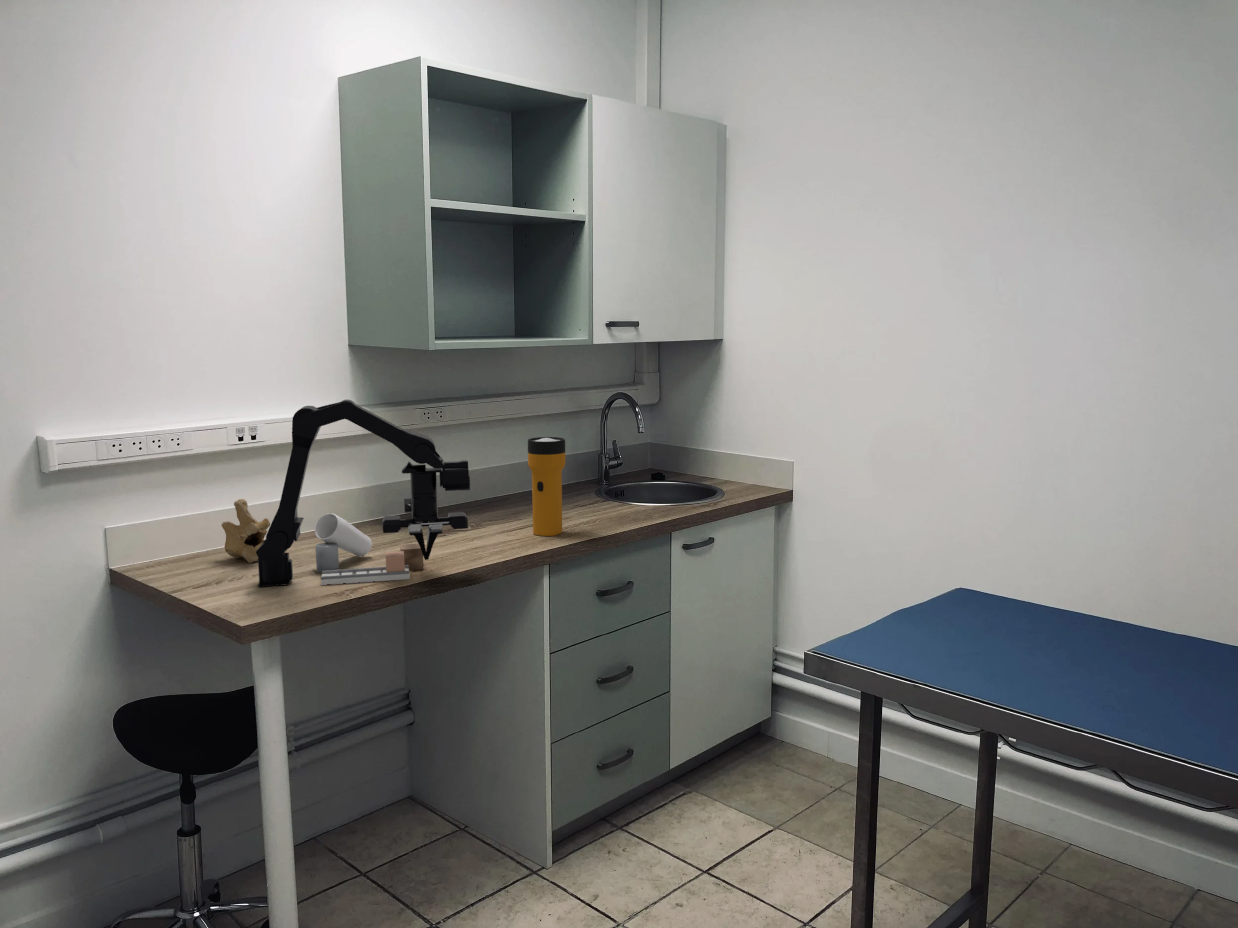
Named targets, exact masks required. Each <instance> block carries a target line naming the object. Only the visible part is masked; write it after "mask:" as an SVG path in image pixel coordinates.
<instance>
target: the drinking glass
mask: <svg viewBox="0 0 1238 928" xmlns="http://www.w3.org/2000/svg"><path fill="white" fill-rule="evenodd" d="M314 535H315V536H316V537H317V539H319V540H320V541H322V542H323V543H337V544H338V549H340V550H343V551H345V552H347V553H350V554H353V555H354V556H357V557H364V556H366V555H367V554H369V553H370V551H371V550H372V547H373V542H372V539H371V538H370V536H368V535H366V534H365V533H363V532H362V531H361V530H359V529H358V528H357V527H355V526H354V525H353V524H351V523H350V522H349V521H347V520H346V519H345V518H342V517H341V516H339V515H337V514H335V513H332V512H327V513H324V514H323V515H321V516H320V517H319V518H318V520H317V521H316V523H315V526H314Z"/></svg>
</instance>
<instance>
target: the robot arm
mask: <svg viewBox="0 0 1238 928" xmlns="http://www.w3.org/2000/svg"><path fill="white" fill-rule="evenodd" d="M342 420H347V421H348V422H351V423H352V424H354V425H357V426H359V427H360V428H363V429H364V430H366V431H368V432H369V433H372V434H374V435H375V436H378V437H379V438H381V439H383V440H385V441H387V442H389V443H391V444H392V445H394V446H395V447H396V448H397V449H398V450H399V451H400V452H402V453H403V454H404V455H406V456H407V457H408V458H410V459H411V460H412V461H414V462H415V463H417V464H413V463H412V462H411V461H409V460H408V462H407V463H406V465H405V466H404V467H403V468H402V469H401V474H410V498H404V499H403V503H404V504H403V505H404V506H403V507H404V514H410V515H411V516H410V517H411V518H403V519H401V516H400V515H385V516H384V517H383V518H382V519H381V521H382V533H384V534H395V533H398V532H399V531H400V530H401V529H402V528H407V529H408V534H409V536H414V538H415V540H416V541H417V544H419V546H420V548H421V551H422V554H423V560H424V561H428V560H429V558H430V556H431V552H432V549H433V547H434V544H435V541H436V539H437V537H438V535H441V534H443V529H442V528H443V526H450V527H451V528H452V529H453V530H463V529H466V530H467V529H468V528H469V520H468V517H467V515H466V513H465V512H464V511H458V512H448V513H447V515H448V516H442V517H441V516H440V517H439V515H438V513H439V511H438V485H437V481H438V480H437V478H438V477H437V473H439V487H440V488H442V489H444V491H445V492H457V491H458V492H460V491H470V490H471V477H470V472H469V471H470V470H469V461H468V460H467V459H464V460H463V459H462V460H458V461H445V460H444V459H443V456H441V455H440V454H439V453H438V452H437V450H436V443H435V441H434V440H433V439H432V438H431V437H430V436H428V435H425V434H422V433H419V432H416V431H413V430H410V429H409V430H408V429H405V428H402V427H400V426H398V425H396V424H394V423H392V422H391V421H389V420H386V419H385V418H383V417H381V416H379V415H378V414H376V413H373V412H372V411H370V410H368V409H366V408H365V407H362V406H360V405H359V404H356V403H355V402H354V401H353V400H351V399H344V400H342V401H339V402H335V403H334V402H333V403H330V404H325V405H322V406H319V407H316V406H314V405H305V406H303V407H301V408H299V409H298V410H297V411H296V412H295V413H294V414H293V416H292V421H291V426H292V427H291V441H292V443H291V445H292V447H291V451H290V457H289V461H288V465H287V469H286V470H287V471H286V474H285V479H284V484H283V488H282V491H281V492H282V493H281V496H280V500H279V506H278V509H277V510H276V513H275V515H274V517H273V520H272V521H271V522H270V526H269V527H268V529H267V533H266V535H265V539H264V542H263V543H262V544H261V545H260V547H259V548H258V550H257V551H256V554H257V556H258V561H257V565H258V585H257V587H258V588H260V587H261V588H262V587H273V586H286V585H287V586H288V585H290V584H291V581H292V580H293V579H294V571H293V560H292V559H291V558H290V552H286V551H288V550H289V549H290V548H291V547H292V546H293V543H294V542H297V541H298V539H299V537H300V536H301V526H302V524H303V521H304V517H301V516H299V517H298V515H299V514H298V507H299V502H300V498H301V493H302V491H303V490H302V489H303V486H304V481H305V475H306V471H307V467H308V462H309V458H310V455H311V450H312V447H313V444H315V440H316V439H317V437H318V434H319V432H320V430H321V427H322V426H326V425H329V424H332V423H333V424H334V423H335V422H336V423H337V422H339V421H342ZM426 464H427V465H429V466H430V467H427V465H426ZM423 527H427V536H426V537H427V538H426V544H425V538H424V532H423Z"/></svg>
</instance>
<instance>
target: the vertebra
mask: <svg viewBox="0 0 1238 928" xmlns="http://www.w3.org/2000/svg"><path fill="white" fill-rule="evenodd" d="M248 505H249V504H248V501H247V500H246V499H243V498H240V499H237V500H236V501H234V502H233V506H234V507H235V512H236V518H237V519H238V521H239V524H238V525H236V524H235V523H233V522H231V521H227V520H226V521H222V523H221V527H222V529H223V530H224V533H225V542H224V551H225V553H227V554H228V555H229V556H230V557H232V558H236V559H242V558H244V559H245V560H246V562H248V564H252V563H253V562H258V556H257V554H256V551H257V550H258V548H259V547H260V545H261V544H262V543H263V542H264V541H265V537H266V535H267V533H268V529H269V528H270V526H271V522H270V520H269V519H268V518H267V517H266V518H263V520H261V521H258V520H256V518H254V516H252V514H251V512H250V511H249V509H248Z"/></svg>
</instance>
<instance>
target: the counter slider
mask: <svg viewBox="0 0 1238 928" xmlns="http://www.w3.org/2000/svg"><path fill="white" fill-rule="evenodd" d="M385 567H386V572H396V571H405V565H404V551H400V550H399V551H385Z"/></svg>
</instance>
